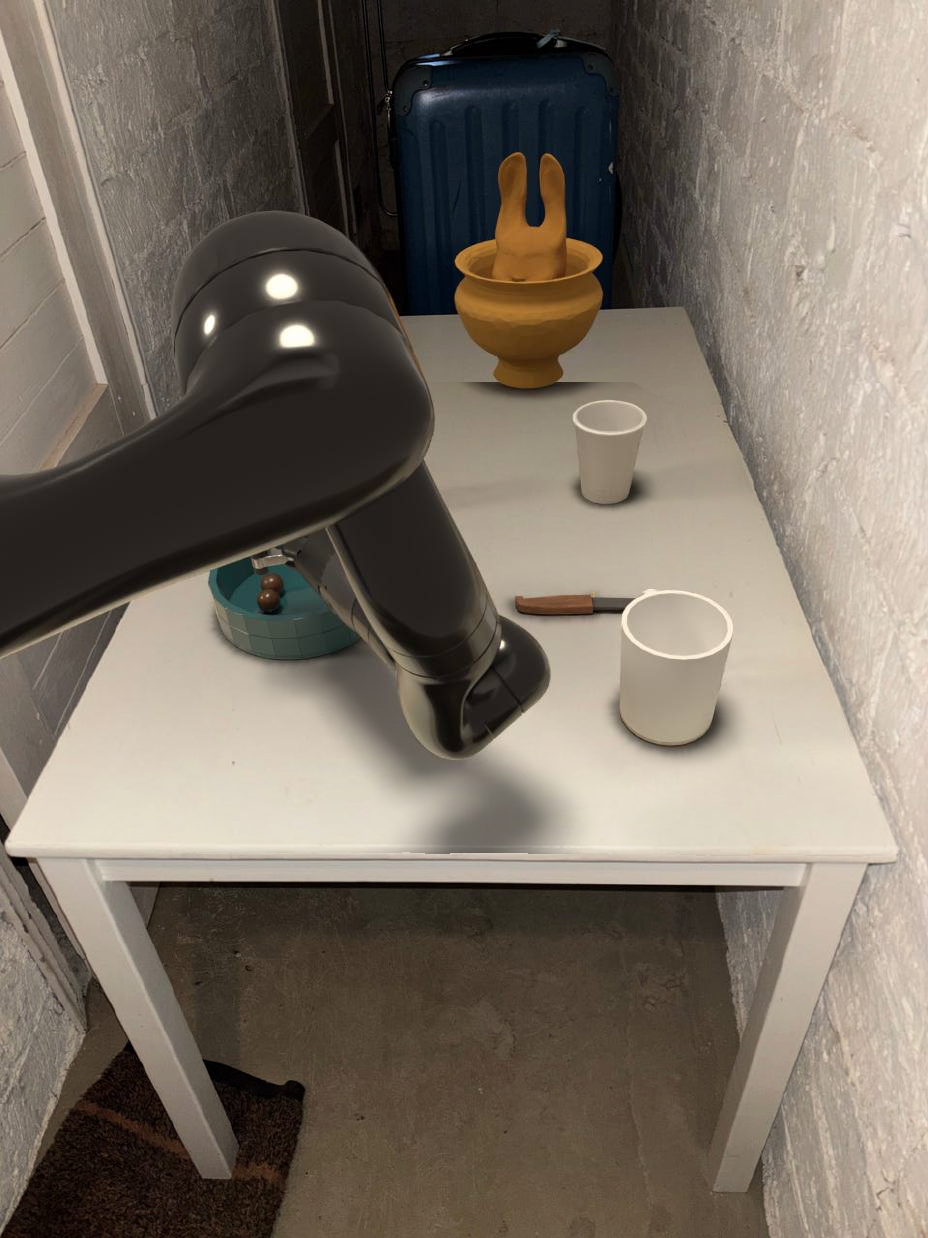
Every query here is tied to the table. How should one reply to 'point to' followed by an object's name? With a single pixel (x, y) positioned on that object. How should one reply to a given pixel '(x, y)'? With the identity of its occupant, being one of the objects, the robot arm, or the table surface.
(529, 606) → the knife
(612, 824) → the table surface
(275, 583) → the bead
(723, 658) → the mug
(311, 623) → the bowl
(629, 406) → the dixie cup
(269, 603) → the bead
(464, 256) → the decorative bowl
